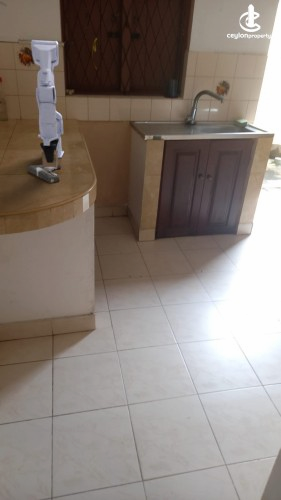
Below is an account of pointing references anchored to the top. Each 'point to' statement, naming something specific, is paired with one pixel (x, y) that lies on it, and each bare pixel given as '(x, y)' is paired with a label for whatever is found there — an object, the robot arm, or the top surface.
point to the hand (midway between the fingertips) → (51, 160)
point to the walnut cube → (55, 161)
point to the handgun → (44, 172)
